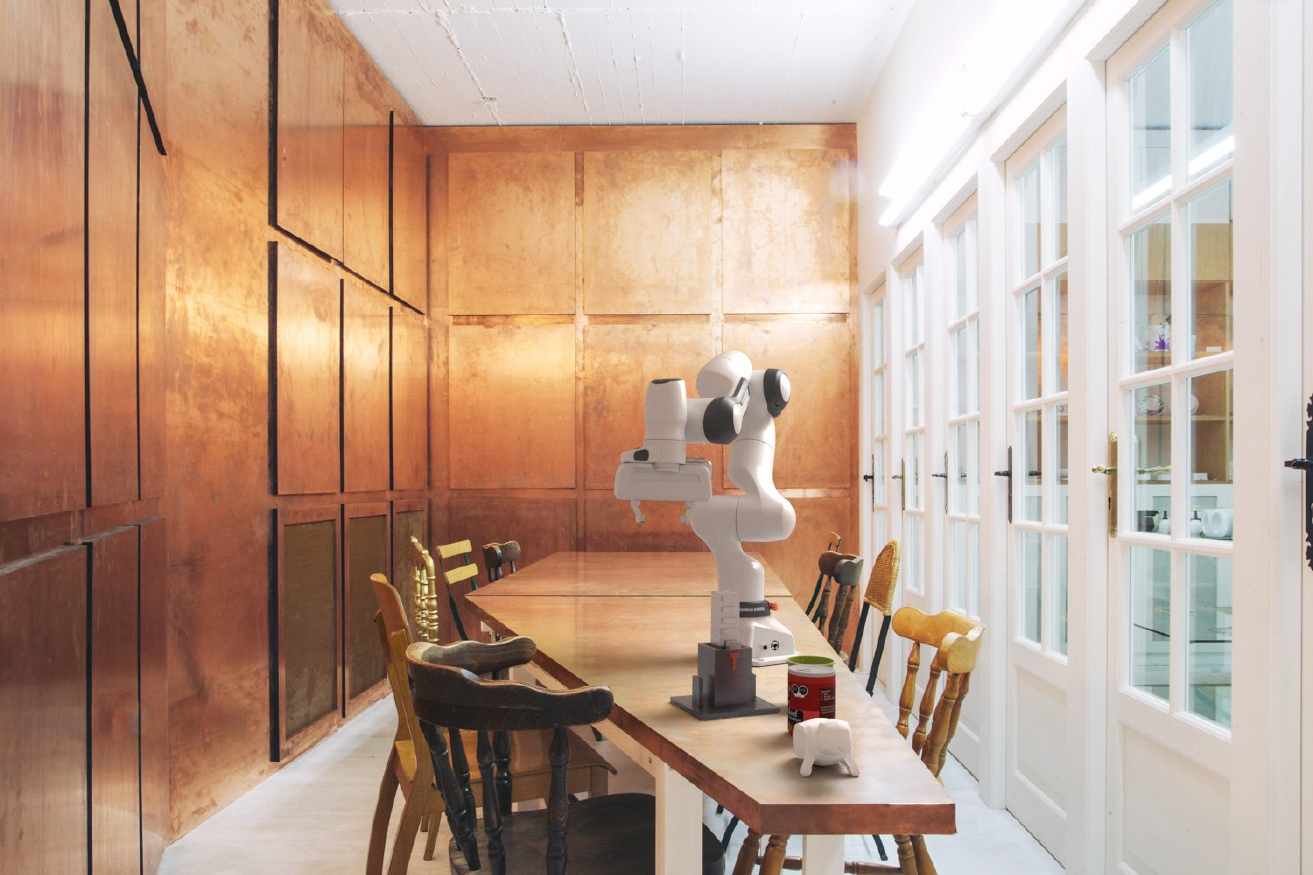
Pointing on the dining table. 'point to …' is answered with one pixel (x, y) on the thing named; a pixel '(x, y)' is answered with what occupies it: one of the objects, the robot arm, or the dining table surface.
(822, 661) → the plant pot
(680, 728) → the dining table surface
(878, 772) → the dining table surface
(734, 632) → the column
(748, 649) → the stand
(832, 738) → the white molar tooth
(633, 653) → the dining table surface
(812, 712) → the canned food
